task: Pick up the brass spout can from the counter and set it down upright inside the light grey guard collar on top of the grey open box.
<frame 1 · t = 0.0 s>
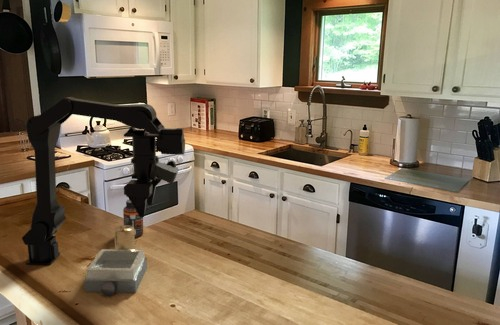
hand: (146, 210, 109), 15 cm above the countertop, tool pointing down, fingers open, 9 cm apart
grey open box: (117, 279, 102), on the countertop
supplement bottle: (133, 234, 130), on the countertop
spout can: (125, 259, 113), on the countertop
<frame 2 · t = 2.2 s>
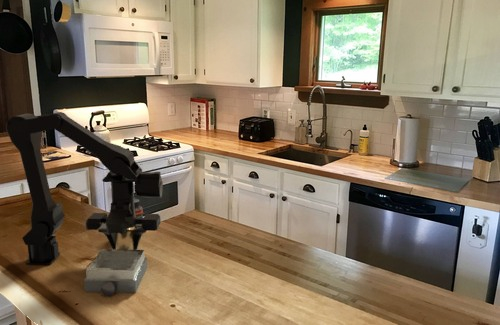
hand: (125, 250, 112), 3 cm above the countertop, tool pointing down, fingers closed on spout can, 5 cm apart
spout can: (125, 258, 113), on the countertop, touching gripper
everything else where it was.
when the fingers open (7 cm above the countertop, at t = 6.7 s): spout can drops 1 cm, resting on grey open box.
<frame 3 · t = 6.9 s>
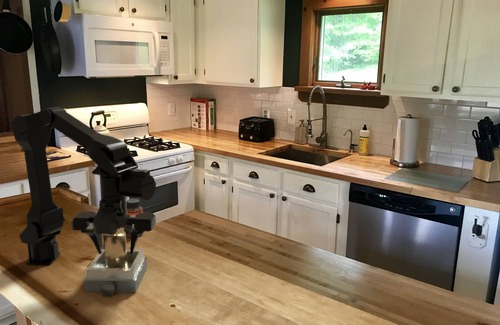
hand: (116, 253, 101), 7 cm above the countertop, tool pointing down, fingers open, 7 cm apart
spout can: (117, 268, 102), point 3 cm above the countertop, touching grey open box
everything else where it was.
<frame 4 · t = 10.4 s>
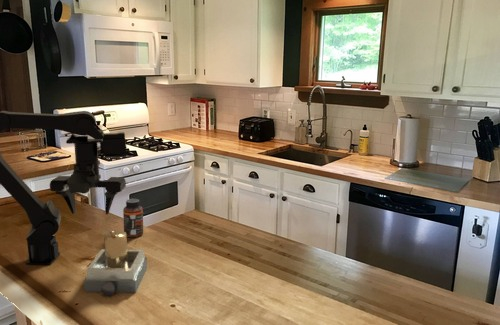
hand: (90, 213, 113), 12 cm above the countertop, tool pointing down, fingers open, 9 cm apart
nothing on the countertop moved.
at the end: spout can 0.1 cm off-centre on the grey open box, point 3.0 cm above the grey open box's base; spout can tilted 1°; the gripper is holding nothing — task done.
